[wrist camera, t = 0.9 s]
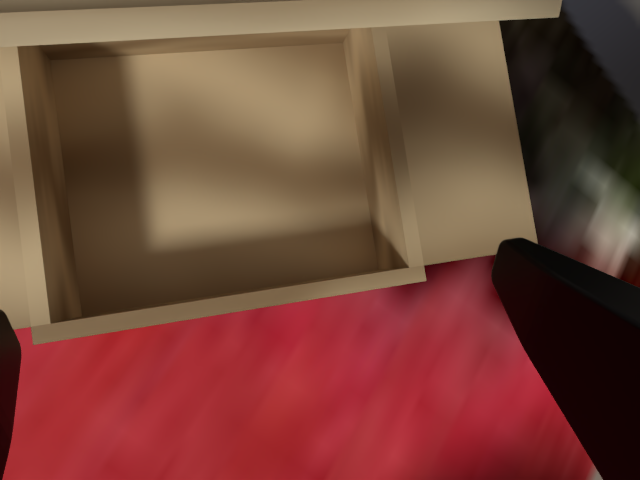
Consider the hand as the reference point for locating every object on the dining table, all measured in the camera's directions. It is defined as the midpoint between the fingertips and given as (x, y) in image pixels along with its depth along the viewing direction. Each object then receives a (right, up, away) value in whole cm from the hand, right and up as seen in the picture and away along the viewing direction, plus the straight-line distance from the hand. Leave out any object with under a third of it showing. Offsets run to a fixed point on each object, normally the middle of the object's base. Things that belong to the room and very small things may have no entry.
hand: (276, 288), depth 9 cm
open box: (-4, +4, +14) cm, 15 cm away
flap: (-2, +7, +4) cm, 9 cm away
